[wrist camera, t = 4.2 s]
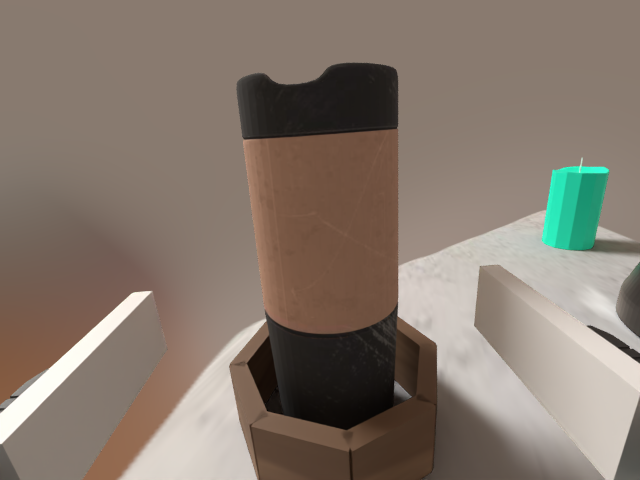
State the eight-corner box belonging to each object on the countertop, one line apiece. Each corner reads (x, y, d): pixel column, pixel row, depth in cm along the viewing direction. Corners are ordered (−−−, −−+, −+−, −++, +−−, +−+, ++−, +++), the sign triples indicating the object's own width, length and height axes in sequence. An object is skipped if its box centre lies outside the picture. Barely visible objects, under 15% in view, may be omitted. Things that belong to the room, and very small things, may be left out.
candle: (574, 235, 49) (589, 154, 46) (605, 249, 44) (625, 158, 40) (533, 237, 50) (545, 157, 46) (558, 251, 44) (574, 161, 40)
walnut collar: (433, 365, 25) (436, 314, 23) (432, 547, 14) (437, 474, 13) (291, 343, 29) (286, 298, 27) (205, 472, 18) (190, 410, 17)
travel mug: (347, 357, 26) (335, 90, 20) (422, 420, 20) (438, 66, 14) (261, 401, 23) (211, 90, 16) (321, 496, 17) (279, 56, 10)
